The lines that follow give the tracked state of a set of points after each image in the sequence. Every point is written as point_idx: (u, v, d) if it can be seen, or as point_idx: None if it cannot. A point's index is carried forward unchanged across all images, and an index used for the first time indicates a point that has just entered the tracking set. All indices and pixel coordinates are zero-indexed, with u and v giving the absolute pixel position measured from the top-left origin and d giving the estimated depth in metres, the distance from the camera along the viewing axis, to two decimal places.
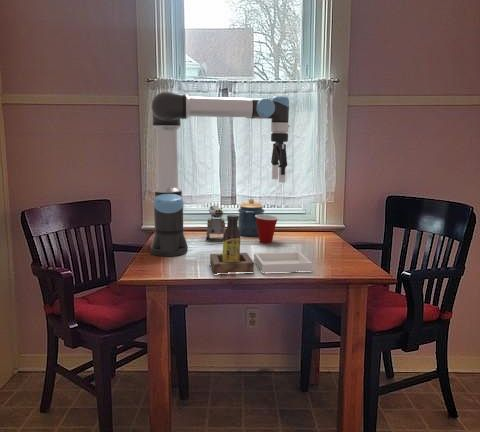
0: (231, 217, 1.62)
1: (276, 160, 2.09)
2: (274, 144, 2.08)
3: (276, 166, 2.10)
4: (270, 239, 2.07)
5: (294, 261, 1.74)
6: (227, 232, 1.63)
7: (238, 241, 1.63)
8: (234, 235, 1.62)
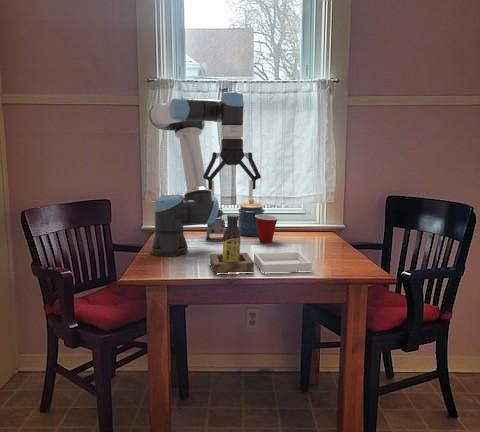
0: (231, 217, 1.62)
1: (248, 174, 1.61)
2: (247, 153, 1.61)
3: (250, 182, 1.62)
4: (270, 239, 2.07)
5: (294, 261, 1.74)
6: (227, 232, 1.63)
7: (238, 241, 1.63)
8: (234, 235, 1.62)
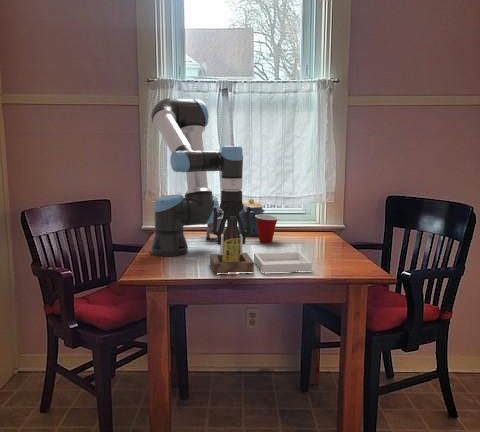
0: (231, 217, 1.62)
1: None
2: None
3: (240, 237, 1.65)
4: (270, 239, 2.07)
5: (294, 261, 1.74)
6: (227, 232, 1.63)
7: (238, 241, 1.63)
8: (234, 235, 1.62)
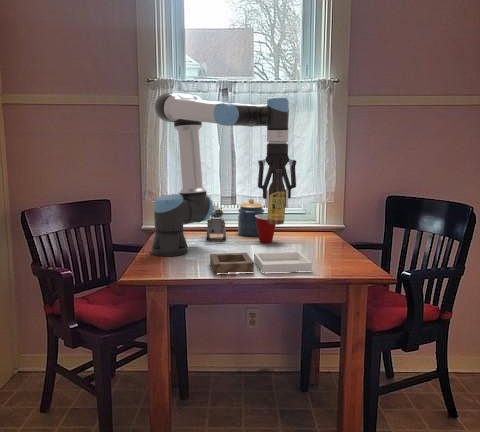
0: (276, 170, 1.61)
1: (285, 181, 1.64)
2: None
3: (285, 191, 1.64)
4: (270, 239, 2.07)
5: (294, 261, 1.74)
6: (273, 185, 1.62)
7: (284, 195, 1.62)
8: (280, 188, 1.61)
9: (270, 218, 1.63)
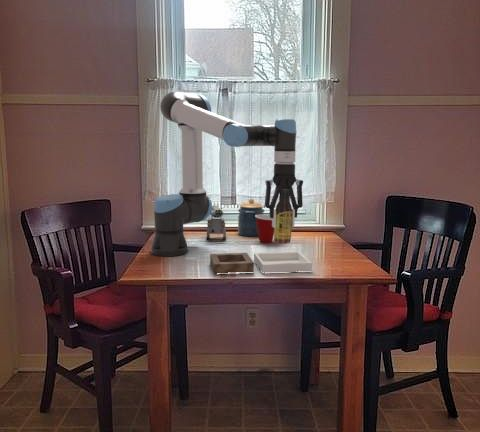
0: (284, 190, 1.63)
1: (292, 201, 1.66)
2: None
3: (292, 210, 1.66)
4: (270, 239, 2.07)
5: (294, 261, 1.74)
6: (280, 205, 1.64)
7: (290, 214, 1.64)
8: (287, 208, 1.63)
9: (277, 237, 1.65)
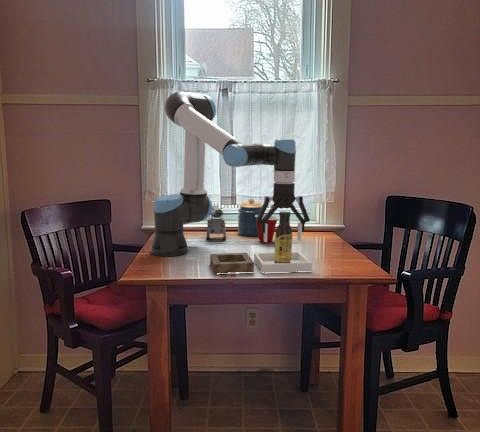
0: (284, 213, 1.65)
1: (297, 217, 1.67)
2: None
3: (299, 224, 1.68)
4: (270, 239, 2.07)
5: (294, 261, 1.74)
6: (280, 228, 1.66)
7: (290, 237, 1.66)
8: (287, 231, 1.65)
9: (277, 260, 1.67)
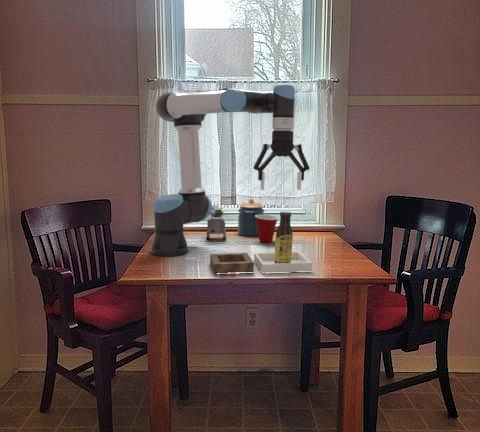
0: (285, 214, 1.65)
1: (296, 165, 1.65)
2: (297, 145, 1.65)
3: (298, 173, 1.66)
4: (270, 239, 2.07)
5: (294, 261, 1.74)
6: (281, 228, 1.66)
7: (291, 237, 1.66)
8: (288, 231, 1.65)
9: (277, 260, 1.67)
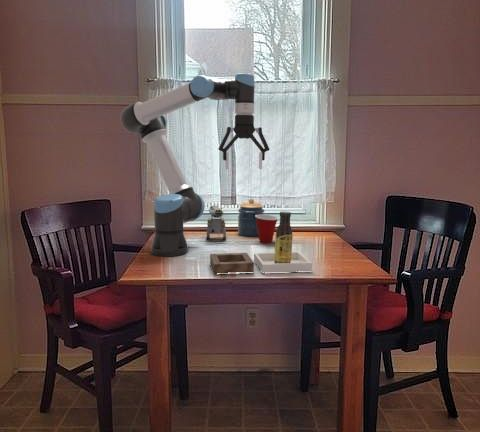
0: (284, 214, 1.65)
1: (258, 146, 1.82)
2: None
3: (259, 154, 1.83)
4: (270, 239, 2.07)
5: (294, 261, 1.74)
6: (280, 228, 1.66)
7: (291, 237, 1.66)
8: (288, 231, 1.65)
9: (277, 260, 1.67)
